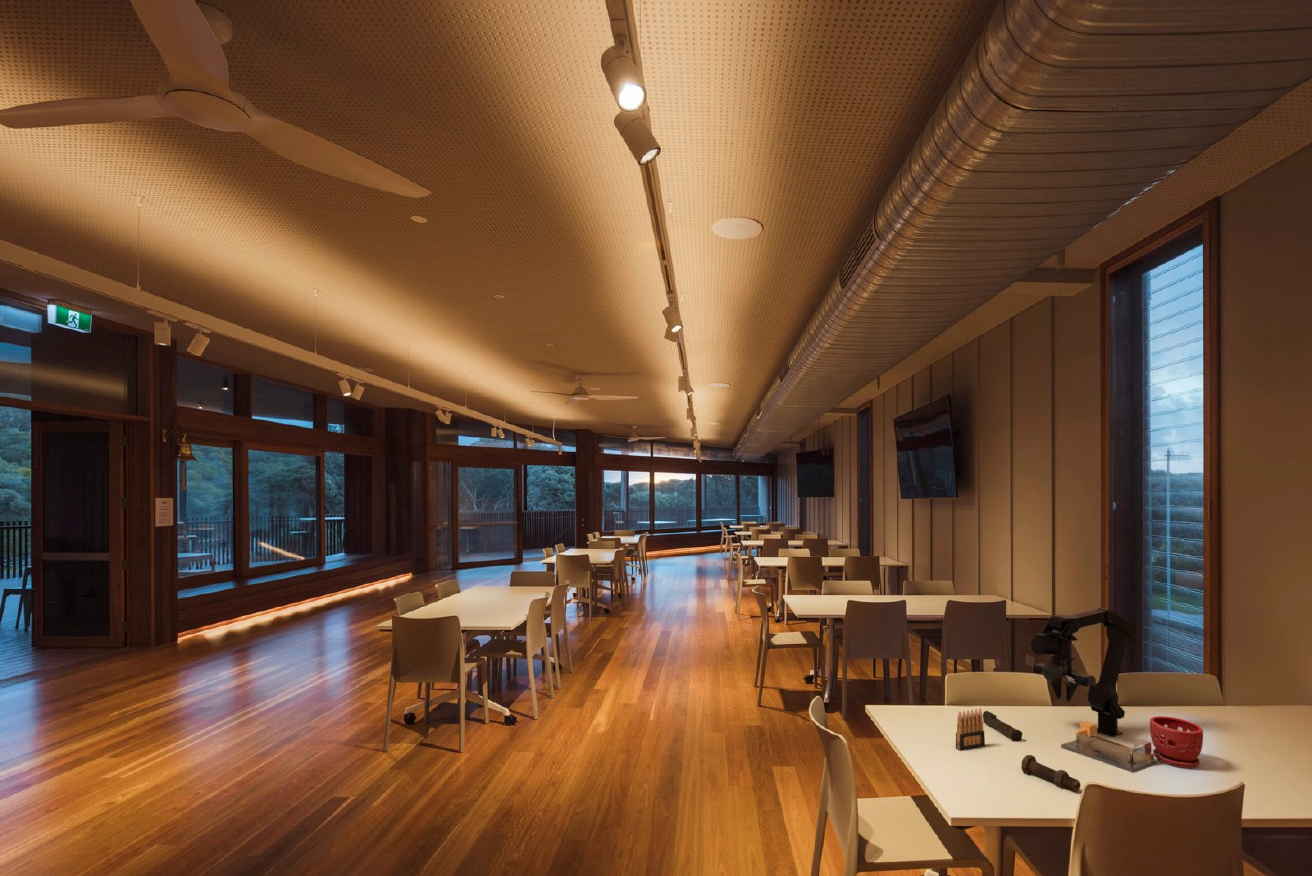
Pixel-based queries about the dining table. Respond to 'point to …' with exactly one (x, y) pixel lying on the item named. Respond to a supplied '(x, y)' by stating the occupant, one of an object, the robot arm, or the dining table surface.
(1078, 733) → the orange block with bar
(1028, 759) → the bolt
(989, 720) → the hand tool
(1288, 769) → the dining table surface
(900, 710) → the dining table surface
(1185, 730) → the plant pot
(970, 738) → the ammunition clip
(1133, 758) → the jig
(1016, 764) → the dining table surface
